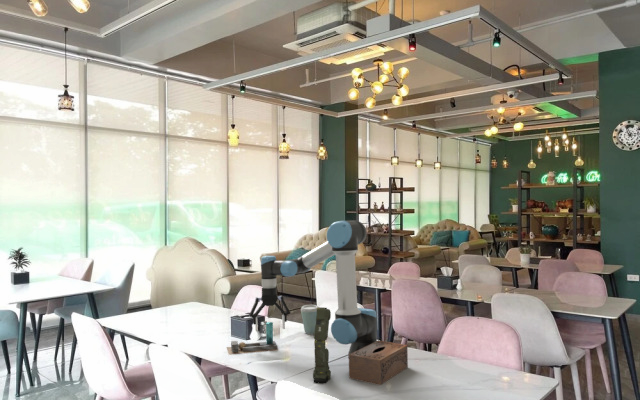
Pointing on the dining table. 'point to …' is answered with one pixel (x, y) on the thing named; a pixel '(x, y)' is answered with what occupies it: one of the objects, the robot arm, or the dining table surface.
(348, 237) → the robot arm
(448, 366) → the dining table surface
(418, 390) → the dining table surface
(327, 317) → the mechanical leg
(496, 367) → the dining table surface
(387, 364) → the tissue box cover
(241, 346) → the walnut
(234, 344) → the press base
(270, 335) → the ram
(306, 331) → the disposable coffee cup
